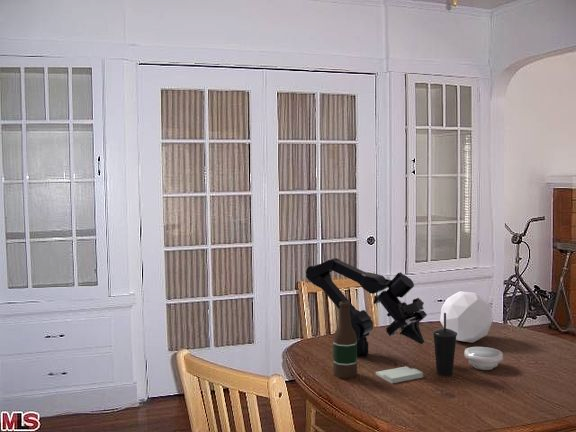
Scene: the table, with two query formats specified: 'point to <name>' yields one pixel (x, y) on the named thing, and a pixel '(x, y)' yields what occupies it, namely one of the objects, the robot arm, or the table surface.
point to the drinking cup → (444, 349)
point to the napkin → (400, 374)
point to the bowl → (483, 357)
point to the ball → (467, 316)
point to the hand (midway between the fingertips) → (423, 343)
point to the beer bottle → (345, 345)
